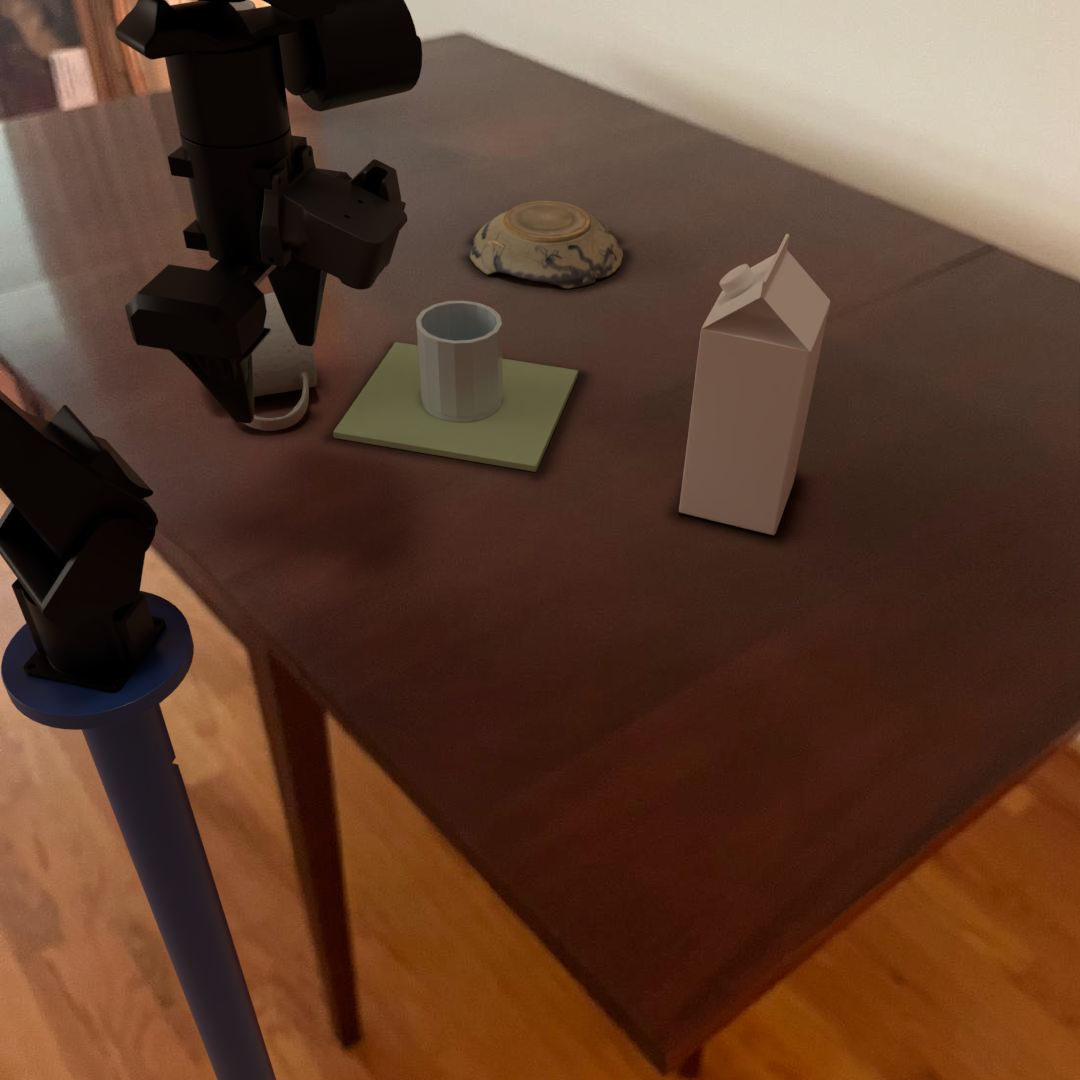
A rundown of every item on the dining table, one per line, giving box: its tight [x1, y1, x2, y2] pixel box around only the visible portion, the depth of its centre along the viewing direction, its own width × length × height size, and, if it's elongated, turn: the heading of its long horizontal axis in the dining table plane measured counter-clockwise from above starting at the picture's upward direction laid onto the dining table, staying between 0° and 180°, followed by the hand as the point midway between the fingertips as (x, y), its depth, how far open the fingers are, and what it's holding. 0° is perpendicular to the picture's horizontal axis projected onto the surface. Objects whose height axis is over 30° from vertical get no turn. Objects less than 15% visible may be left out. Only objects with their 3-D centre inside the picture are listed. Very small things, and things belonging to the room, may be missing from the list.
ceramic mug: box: [244, 291, 318, 432], centre depth 88 cm, size 11×8×8 cm
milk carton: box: [678, 233, 831, 536], centre depth 78 cm, size 7×7×19 cm
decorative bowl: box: [469, 200, 624, 290], centre depth 111 cm, size 15×4×15 cm
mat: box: [332, 341, 579, 473], centre depth 91 cm, size 16×14×1 cm
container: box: [415, 300, 503, 422], centre depth 89 cm, size 6×6×7 cm
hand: (276, 381), depth 71 cm, fingers open, 9 cm apart
